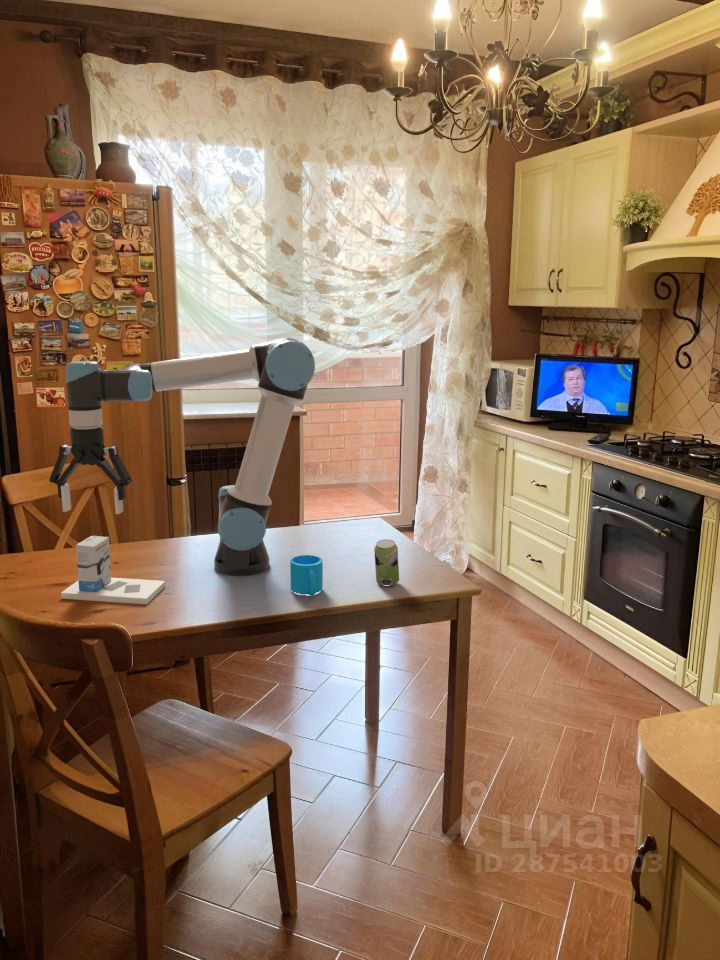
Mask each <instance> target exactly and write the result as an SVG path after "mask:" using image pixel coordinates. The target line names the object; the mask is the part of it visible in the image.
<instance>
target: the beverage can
mask: <svg viewBox="0 0 720 960" xmlns="http://www.w3.org/2000/svg"><path fill="white" fill-rule="evenodd" d="M373 549H374V563H375V564H374V565H375V581H376V583H377V584H378V585H380V584H381V585H394V586H395V585H397V584H398V583H399V581H400V571H399V570H400V567H399V548H398V546H397V544H396V542H395V541H394V540H393V539H380V540H379V541H377V542H376V544H375V546H374V548H373ZM381 585H380V586H381Z"/></svg>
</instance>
